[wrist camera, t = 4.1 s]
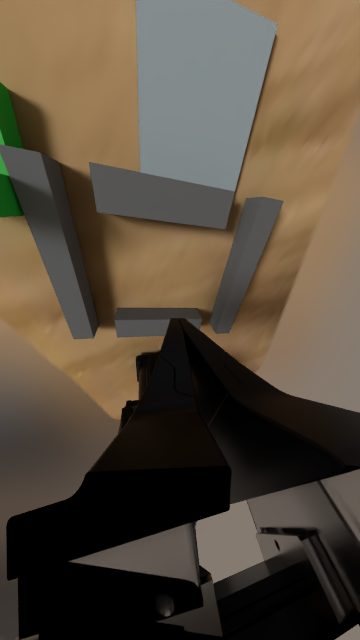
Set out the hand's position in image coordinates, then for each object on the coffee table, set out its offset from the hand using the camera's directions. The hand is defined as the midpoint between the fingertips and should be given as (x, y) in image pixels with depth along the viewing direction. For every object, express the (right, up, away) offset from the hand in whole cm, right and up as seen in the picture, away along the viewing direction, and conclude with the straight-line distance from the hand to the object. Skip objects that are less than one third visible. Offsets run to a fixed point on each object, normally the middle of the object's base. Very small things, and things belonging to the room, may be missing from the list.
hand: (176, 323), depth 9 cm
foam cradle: (-2, +6, +8) cm, 10 cm away
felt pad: (+1, +14, +2) cm, 15 cm away
